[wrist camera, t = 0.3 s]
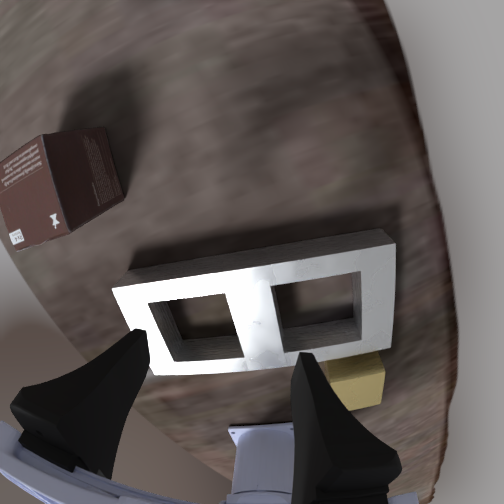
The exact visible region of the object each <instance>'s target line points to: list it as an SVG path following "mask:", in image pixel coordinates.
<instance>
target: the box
mask: <svg viewBox="0 0 504 504" xmlns="http://www.w3.org/2000/svg"><path fill="white" fill-rule="evenodd" d="M122 201H124V195H123V192H122V189H121V186H120V182H119V179H118V176H117V173H116V169H115V166H114V162H113V159H112V155H111V151H110V147H109V143H108V139H107V135H106V132H105V128H104V127H98V128H88V129H79V130H72V131H64V132H56V133H52V134H42V135H39V136H37V137H36V138H34V139H33V140H31V141H30V142H28V143H26V144H25V145H23V146H22V147H21V148H19V149H18V150H16V151H15V152H14V153H12V154H11V155H9V156H8V157H7V158H6V159H4V160H3V161H1V162H0V208H1V211H2V215H3V218H4V221H5V224H6V227H7V230H8V232H9V235H10V238H11V240H12V243H13V245H14V247H15V249H16V251H17V252H18V251H21V250H24V249H27V248H29V247H32V246H35V245H40V244H42V243H44V242H47V241H49V240H53V239H56V238H59V237H63V236H65V235H68V234H70V233H72V232H73V231H75V230H76V229H78V228H79V227H81V226H83V225H84V224H86V223H87V222H89V221H91V220H92V219H94V218H96V217H97V216H99V215H101V214H102V213H104V212H105V211H107V210H109V209H110V208H112V207H113V206H115V205H117V204H119V203H120V202H122Z"/></svg>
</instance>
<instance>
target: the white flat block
mask: <svg viewBox="0 0 504 504" xmlns="http://www.w3.org/2000/svg"><path fill="white" fill-rule="evenodd" d="M351 272H352V288H353V317H352V318H347V319H341V320H336V321H330V322H325V323H319V324H312V325H306V326H300V327H293V328H286V329H283V327H282V321H281V316H280V311H279V306H278V301H277V296H276V291H275V286H274V285H279V284H286V283H292V282H298V281H304V280H310V279H316V278H322V277H328V276H334V275H340V274H345V273H351ZM395 274H396V243H395V242H394V241H393V240H392V239H391V238H390V237H389V236H388V235H387V234H386V233H385V232H384V231H383V230H382V229H381V228H377V229H371V230H365V231H359V232H353V233H347V234H341V235H335V236H329V237H323V238H317V239H311V240H305V241H299V242H293V243H287V244H281V245H275V246H269V247H263V248H257V249H251V250H245V251H239V252H233V253H227V254H221V255H215V256H209V257H203V258H197V259H191V260H186V261H180V262H174V263H168V264H162V265H156V266H150V267H144V268H138V269H133V270H128V271H127V272H126V273H125V274H124V275H123V276H122V277H121V278H120V280H119V281H118V282H117V283H116V284H115V285H114V286H113V288H112V290H113V293H114V295H115V297H116V299H117V302H118V304H119V306H120V308H121V310H122V312H123V315H124V317H125V319H126V321H127V323H128V325H129V327H130V329H131V331H132V330H133V329H134V328H139V329H144V330H147V336H148V343H149V351H150V357H151V362H150V367H151V369H152V371H153V372H154V374H155V375H186V374H209V373H225V372H239V371H250V370H260V369H269V368H278V367H286V366H294V365H296V362H297V358H298V355H299V352H308V353H313V354H314V356H315V358H316V360H317V362H320V361H326V360H332V359H338V358H343V357H349V356H354V355H359V354H364V353H368V352H373V351H377V350H382V349H386V348H390V347H391V340H392V329H393V317H394V301H395ZM218 293H226V297H227V300H228V304H229V307H230V310H231V314H232V317H233V320H234V324H235V327H236V330H237V334H238V335H230V336H221V337H210V338H199V339H186V340H182V337H181V335H180V333H179V330H178V328H177V325H176V323H175V321H174V318H173V316H172V313H171V311H170V308H169V306H168V303H167V301H166V300H172V299H180V298H188V297H195V296H203V295H211V294H218Z"/></svg>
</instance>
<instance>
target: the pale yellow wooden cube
mask: <svg viewBox="0 0 504 504" xmlns="http://www.w3.org/2000/svg"><path fill="white" fill-rule="evenodd" d="M325 371H326V379H327V380H328V382H329V384H330V385H331V387H332V389H333V390H334V392H335V393H336V395H337V396H338V397H339V399H340V400H341V402H342V403H343V404H344V405H345V407H346V408H347V409H348V410H349V411H350V410H355V409H360V408H365V407H369V406H374V405H378V404H381V398H382V392H383V386H384V379H385V369H384V366H383V364H382V361H381V359H380V356H379V353H378V351H373V352H368V353H364V354H359V355H354V356H349V357H343V358H338V359H332V360H326V361H325Z"/></svg>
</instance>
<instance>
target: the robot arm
mask: <svg viewBox="0 0 504 504" xmlns="http://www.w3.org/2000/svg"><path fill="white" fill-rule="evenodd" d="M150 362H151V357H150V351H149V343H148V336H147V330H144V329H139V328H134V329H133V330H132V331H130V332H129V333H128V334H127V335H125V336H124V337H123V338H122V339H120V340H119V341H118V342H117V343H115V344H114V345H113V346H111V347H110V348H109V349H107V350H106V351H105V352H103V353H102V354H101V355H99V356H98V357H96V358H95V359H93V360H92V361H90V362H89V363H87V364H85V365H84V366H82V367H80V368H78V369H76V370H74V371H72V372H70V373H68V374H65V375H63V376H61V377H59V378H56V379H53V380H50V381H48V382H44V383H41V384H37V385H32V386H28V387H23V388H22V389H21V390H20V391H19V393H18V394H17V396H16V397H15V399H14V400H13V401H12V403H11V404H10V409H11V412H12V413H13V415H14V416H15V418H16V419H17V421H18V422H19V423H20V425H21V426H22V427H23V429H24V431H23V433H22V434H21V433H20V432H19V431H18V430H17V429H15V428H13V427H12V426H10V425H9V424H7V423H6V422H4V421H1V422H0V473H2V474H3V475H4V476H5V477H6V478H7V479H9V480H10V481H12V482H13V483H15V484H16V485H17V486H19V487H20V488H22V489H23V490H25V491H27V492H28V493H30V494H31V495H33V496H35V497H36V498H38V499H39V500H41V501H43V502H44V503H46V504H199V503H193V502H188V501H183V500H178V499H173V498H169V497H165V496H161V495H157V494H154V493H150V492H146V491H143V490H139V489H136V488H133V487H129V486H127V485H124V484H121V483H117V482H115V481H112V480H111V478H112V472H113V467H114V461H115V457H116V453H117V448H118V445H119V441H120V438H121V434H122V430H123V427H124V424H125V421H126V418H127V416H128V413H129V411H130V409H131V407H132V405H133V402H134V400H135V398H136V396H137V394H138V392H139V390H140V388H141V386H142V384H143V382H144V379H145V377H146V374H147V371H148V368H149V365H150ZM291 410H292V420H293V422H290V423H280V424H269V425H254V426H231V427H229V428H228V431H229V433H230V435H231V437H232V439H233V441H234V443H235V444H236V446H237V451H236V459H235V468H234V476H233V485H232V493H231V494H228V495H227V500H226V501H221V502H220V503H219V504H419V502H418V498H417V494H416V492H410V493H406V494H402V495H397V496H393V497H390V498H388V499H387V494H386V493H388V492H389V487H388V484H390V483H391V482H392V481H393V480H394V479H395V478H397V477H398V476H399V474H400V473H401V471H402V466H401V462H400V459H399V456H398V454H397V451H396V450H394V449H393V448H391V447H390V446H388V445H386V444H385V443H383V442H382V441H381V440H379V439H378V438H377V437H375V436H374V435H373V434H372V433H370V432H369V431H368V430H367V429H366V428H365V427H364V426H363V425H362V424H361V423H360V422H359V421H358V420H357V419H356V418H355V417H354V416H353V415H352V414H351V413H350V412H349V410H348V409H347V408H346V407H345V405H344V404H343V403H342V402H341V400H340V399H339V397H338V396H337V395H336V393H335V392H334V390H333V389H332V387H331V385H330V384H329V382H328V380H327V379H326V377H325V375H324V374H323V372H322V370H321V368H320V366H319V364H318V362H317V360H316V358H315V356H314V354H313V353H308V352H299V355H298V358H297V362H296V365H295V369H294V372H293V376H292V379H291Z"/></svg>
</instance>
